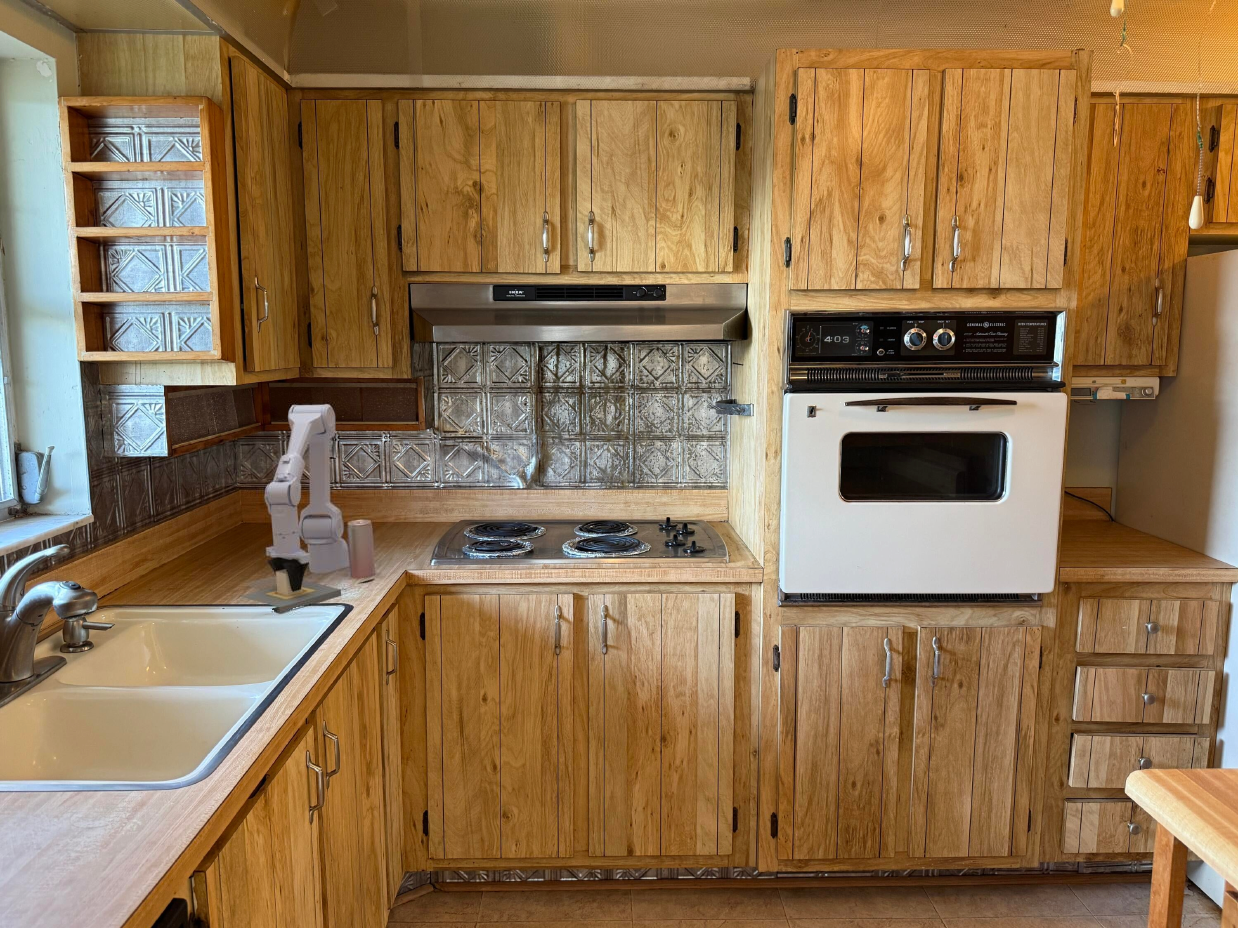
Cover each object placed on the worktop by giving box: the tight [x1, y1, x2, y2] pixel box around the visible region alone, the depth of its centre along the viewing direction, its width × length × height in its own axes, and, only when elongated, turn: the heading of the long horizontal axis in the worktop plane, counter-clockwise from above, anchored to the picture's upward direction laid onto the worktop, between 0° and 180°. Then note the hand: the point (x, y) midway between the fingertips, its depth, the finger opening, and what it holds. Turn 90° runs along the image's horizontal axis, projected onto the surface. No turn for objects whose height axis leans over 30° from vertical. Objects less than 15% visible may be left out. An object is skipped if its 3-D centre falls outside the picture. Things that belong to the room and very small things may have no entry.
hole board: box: [240, 579, 342, 615], centre depth 204 cm, size 16×16×2 cm
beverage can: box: [346, 519, 376, 585], centre depth 217 cm, size 6×6×15 cm
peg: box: [275, 569, 304, 597], centre depth 203 cm, size 4×4×6 cm
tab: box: [243, 576, 277, 590], centre depth 213 cm, size 8×8×2 cm
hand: (290, 588), depth 203 cm, fingers closed on peg, 4 cm apart
